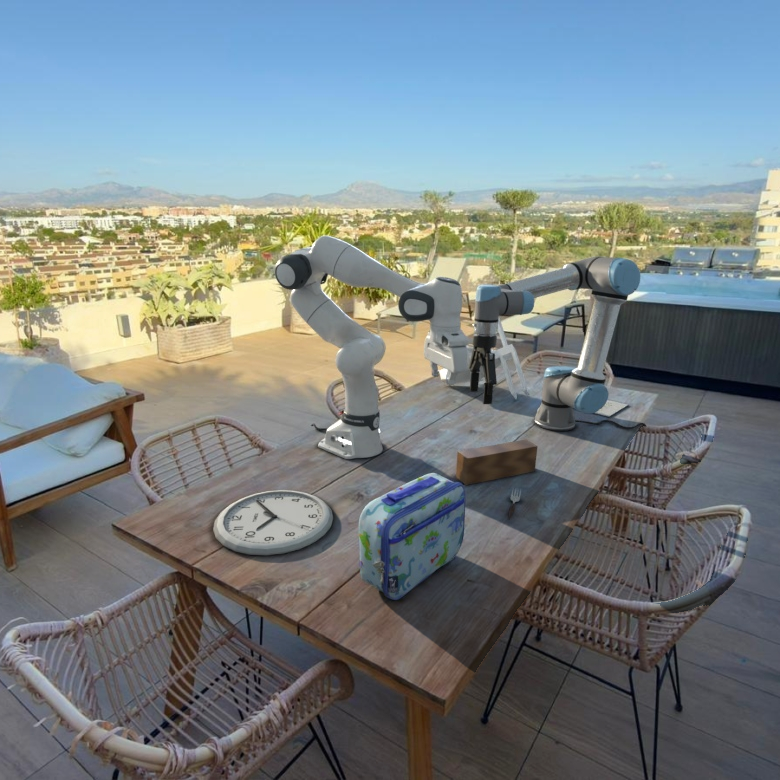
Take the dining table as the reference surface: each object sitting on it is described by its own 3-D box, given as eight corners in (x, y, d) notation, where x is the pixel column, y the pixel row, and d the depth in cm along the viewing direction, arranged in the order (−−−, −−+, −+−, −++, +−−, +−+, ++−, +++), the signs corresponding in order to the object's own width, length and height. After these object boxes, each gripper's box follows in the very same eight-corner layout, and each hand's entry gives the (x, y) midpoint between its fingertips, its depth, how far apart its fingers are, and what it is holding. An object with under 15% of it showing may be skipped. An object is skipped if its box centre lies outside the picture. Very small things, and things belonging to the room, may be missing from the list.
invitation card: (608, 416, 214) (573, 407, 224) (608, 416, 214) (573, 408, 224) (628, 404, 229) (594, 396, 238) (628, 405, 229) (594, 397, 238)
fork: (503, 520, 136) (504, 514, 136) (511, 493, 151) (512, 486, 150) (513, 522, 136) (514, 515, 135) (521, 494, 150) (521, 488, 149)
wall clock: (331, 546, 121) (198, 551, 119) (331, 552, 122) (199, 557, 119) (333, 485, 150) (227, 488, 147) (334, 490, 150) (227, 493, 148)
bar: (523, 464, 170) (526, 439, 167) (534, 471, 165) (537, 446, 162) (455, 476, 160) (457, 451, 158) (465, 485, 155) (467, 458, 153)
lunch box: (387, 613, 103) (389, 519, 97) (352, 587, 110) (351, 498, 104) (468, 558, 121) (474, 476, 114) (433, 538, 128) (436, 460, 122)
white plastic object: (461, 429, 252) (437, 405, 227) (444, 352, 274) (420, 323, 250) (535, 404, 240) (518, 377, 215) (510, 326, 262) (492, 293, 237)
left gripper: (419, 328, 160) (417, 372, 164) (452, 342, 142) (449, 390, 146) (437, 327, 162) (435, 370, 166) (472, 340, 144) (469, 388, 148)
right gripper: (462, 327, 178) (458, 386, 185) (487, 342, 155) (481, 410, 161) (483, 327, 180) (478, 386, 186) (511, 342, 156) (505, 409, 162)
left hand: (442, 380), depth 156 cm, fingers open, 8 cm apart
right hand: (480, 397), depth 174 cm, fingers open, 13 cm apart
